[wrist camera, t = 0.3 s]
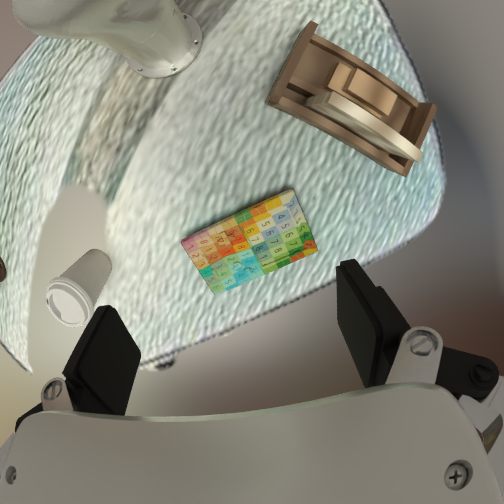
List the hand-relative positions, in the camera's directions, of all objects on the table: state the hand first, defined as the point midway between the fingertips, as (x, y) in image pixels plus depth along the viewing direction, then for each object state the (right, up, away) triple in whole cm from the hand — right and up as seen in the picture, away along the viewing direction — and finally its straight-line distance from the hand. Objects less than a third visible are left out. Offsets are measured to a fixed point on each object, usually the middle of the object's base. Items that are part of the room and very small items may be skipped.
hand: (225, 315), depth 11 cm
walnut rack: (+17, +27, +27) cm, 42 cm away
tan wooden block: (+17, +28, +26) cm, 42 cm away
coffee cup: (-30, 0, +39) cm, 49 cm away
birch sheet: (+15, +23, +28) cm, 39 cm away
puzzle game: (+1, +5, +38) cm, 39 cm away
